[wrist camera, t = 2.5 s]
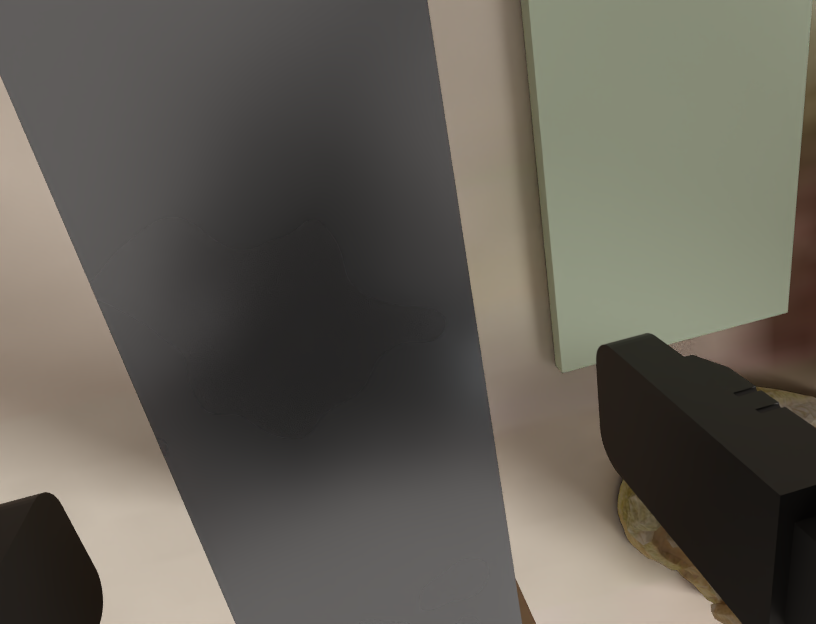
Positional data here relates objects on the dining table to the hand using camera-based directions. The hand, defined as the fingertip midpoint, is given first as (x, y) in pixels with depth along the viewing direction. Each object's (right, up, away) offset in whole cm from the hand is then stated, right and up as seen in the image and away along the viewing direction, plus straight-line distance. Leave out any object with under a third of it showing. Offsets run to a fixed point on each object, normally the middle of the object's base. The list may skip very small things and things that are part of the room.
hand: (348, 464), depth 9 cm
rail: (0, 0, 0) cm, 0 cm away
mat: (+9, +10, +10) cm, 17 cm away
